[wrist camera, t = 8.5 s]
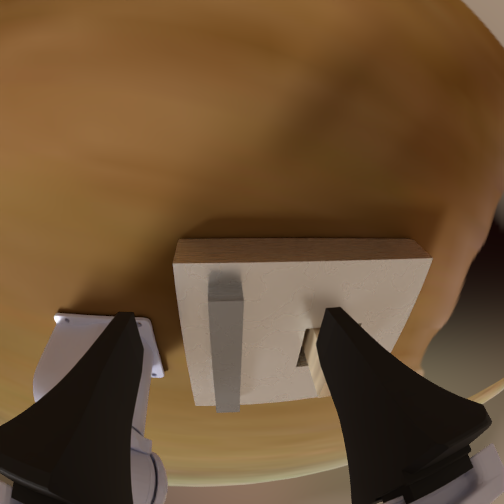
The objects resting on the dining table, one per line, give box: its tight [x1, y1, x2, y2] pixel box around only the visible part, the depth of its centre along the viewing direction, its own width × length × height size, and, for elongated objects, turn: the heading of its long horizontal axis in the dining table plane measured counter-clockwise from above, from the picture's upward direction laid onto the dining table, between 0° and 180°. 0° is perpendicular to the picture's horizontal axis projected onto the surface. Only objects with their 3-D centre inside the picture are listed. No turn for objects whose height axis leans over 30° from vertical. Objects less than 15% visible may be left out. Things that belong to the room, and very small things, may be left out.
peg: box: [302, 328, 331, 398], centre depth 21 cm, size 3×3×7 cm
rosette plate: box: [173, 238, 433, 413], centre depth 22 cm, size 18×16×5 cm
